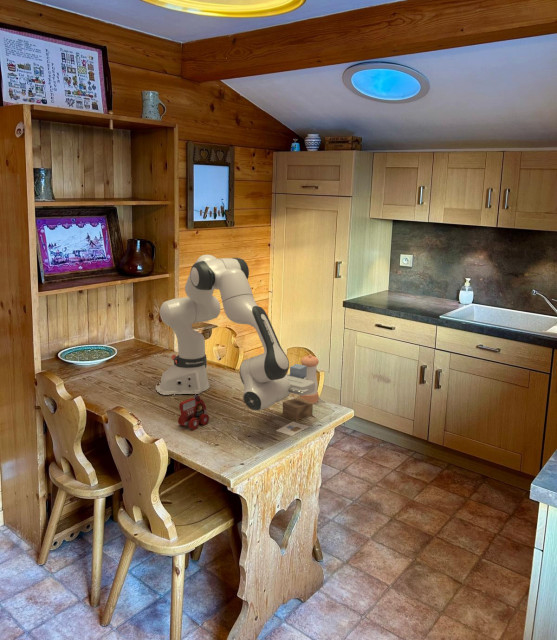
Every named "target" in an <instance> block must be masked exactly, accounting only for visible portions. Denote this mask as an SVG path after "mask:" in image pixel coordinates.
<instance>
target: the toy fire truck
mask: <svg viewBox="0 0 557 640" xmlns="http://www.w3.org/2000/svg"><path fill="white" fill-rule="evenodd" d="M194 396H195V397H191V398H188V399H186V400H184V401H181V402H179V407H178V408H179V410H180V415H179V417H178V419H177V423H178V425H179V426H182V427H184V426H188V427H189V429H190V430H194V431H195V430H196V429H197V428H198V427H199V424H200V425H201V426H206V425H207V424H208V423H209V421H210V416H209V415H208V414H207V412H208V410H207V406H206V403H205V402H204V400H203V399H202V398H201V397H200V395H199V394H198V395H194Z"/></svg>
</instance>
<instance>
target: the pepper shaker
mask: <svg viewBox="0 0 557 640" xmlns="http://www.w3.org/2000/svg"><path fill="white" fill-rule="evenodd" d="M300 363H301V364H300V365H305V366H307V377H308V380H310V381H314V383H315V391H314V392H312V393H309V394H307V395H299V398H301V399H304V400H306V401H308V402H311V403H314V404H316V402H317V401H318V402H319V392H318V385H319V384H318V378H317V366H318V365H319V359H318V358H317V357H316V356H314V355H312V354H308V355H305V356H303V357H302V358H301V360H300ZM318 402H317V403H318Z"/></svg>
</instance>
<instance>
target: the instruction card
mask: <svg viewBox="0 0 557 640" xmlns="http://www.w3.org/2000/svg"><path fill="white" fill-rule="evenodd" d="M306 428H307V429H308V428H310V426H309V425H305V424H302V423H300V422H298V421H292V422H290V423H287V424H285V425H284V426H282V427H280V428H278V429H276V432H278V433H280V434H284V435H286V436H290V437H294V436H296V435H297V434H299V433H301V432H303V431H305V430H306ZM304 429H305V430H304ZM302 430H303V431H302ZM295 434H296V435H295Z"/></svg>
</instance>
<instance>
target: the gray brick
mask: <svg viewBox="0 0 557 640" xmlns="http://www.w3.org/2000/svg"><path fill="white" fill-rule="evenodd" d="M289 374H290V376H293V377H297V378H301V379H302V377H307V366H305V365H302V364H300V363H295V364H293V365H291V366H289Z"/></svg>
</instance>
